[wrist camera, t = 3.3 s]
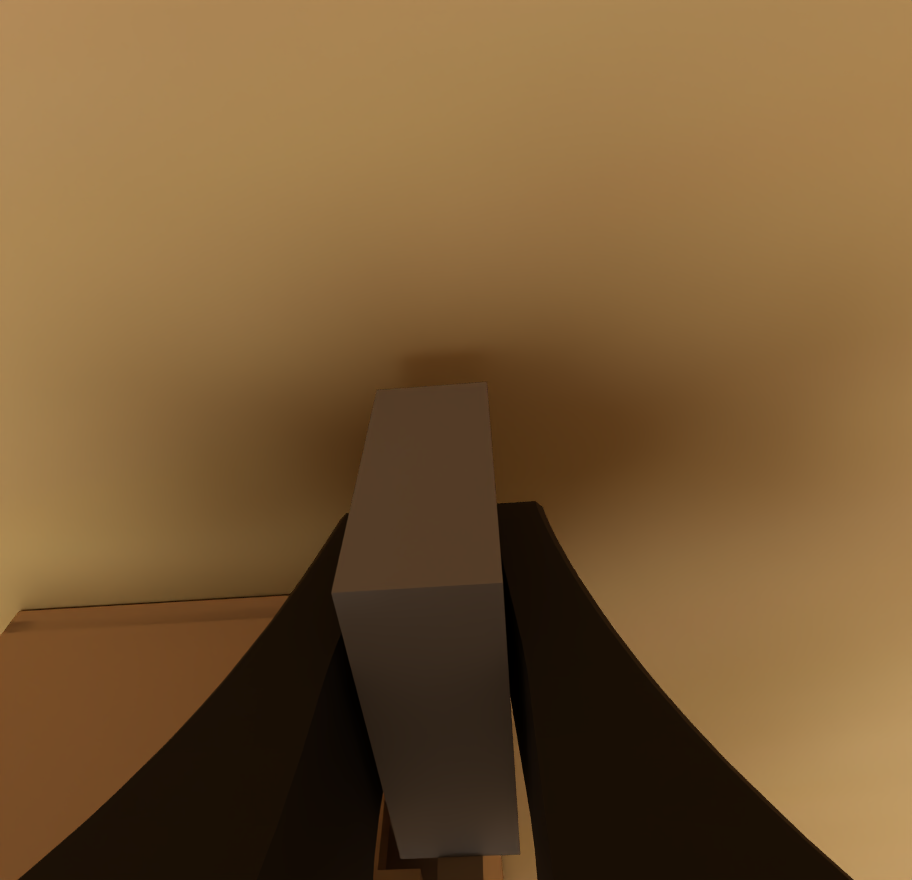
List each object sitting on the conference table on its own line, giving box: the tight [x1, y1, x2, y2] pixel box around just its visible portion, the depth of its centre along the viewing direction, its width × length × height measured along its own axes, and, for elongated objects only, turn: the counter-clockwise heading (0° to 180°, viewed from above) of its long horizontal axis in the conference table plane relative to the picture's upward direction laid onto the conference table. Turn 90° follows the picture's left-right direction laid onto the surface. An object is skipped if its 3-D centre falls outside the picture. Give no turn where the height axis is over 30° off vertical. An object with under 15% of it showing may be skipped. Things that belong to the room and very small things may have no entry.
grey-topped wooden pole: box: [331, 382, 520, 880], centre depth 13 cm, size 19×2×6 cm, turn 5°
